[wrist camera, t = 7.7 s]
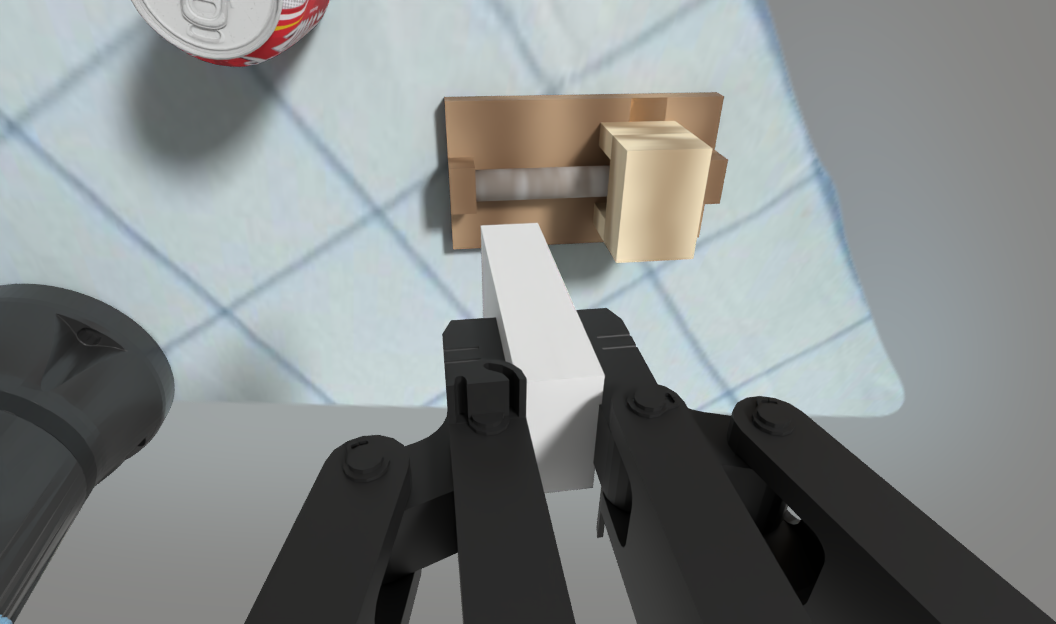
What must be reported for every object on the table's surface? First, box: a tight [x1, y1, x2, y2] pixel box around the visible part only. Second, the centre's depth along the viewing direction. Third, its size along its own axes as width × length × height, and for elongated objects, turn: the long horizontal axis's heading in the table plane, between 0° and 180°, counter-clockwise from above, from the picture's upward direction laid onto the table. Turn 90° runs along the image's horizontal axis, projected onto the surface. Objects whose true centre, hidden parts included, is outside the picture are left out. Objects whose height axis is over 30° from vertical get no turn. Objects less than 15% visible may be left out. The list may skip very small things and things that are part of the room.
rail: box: [444, 92, 728, 249], centre depth 40 cm, size 18×10×4 cm, turn 89°
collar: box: [593, 121, 713, 263], centre depth 38 cm, size 5×7×6 cm
